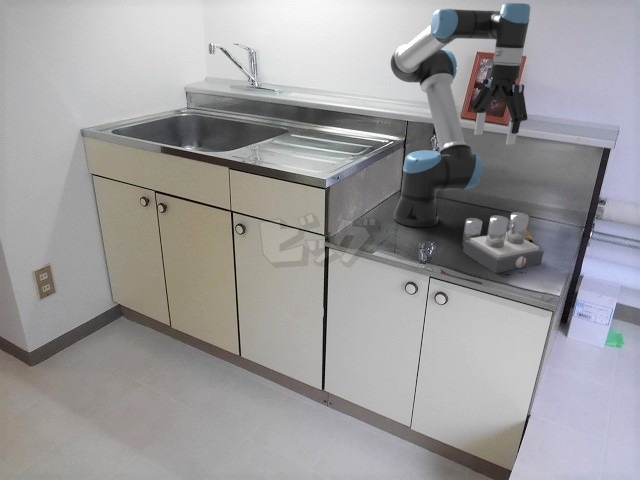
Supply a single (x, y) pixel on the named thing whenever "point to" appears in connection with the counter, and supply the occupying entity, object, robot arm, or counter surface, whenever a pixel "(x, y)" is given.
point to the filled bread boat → (528, 237)
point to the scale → (503, 254)
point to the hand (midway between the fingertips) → (493, 139)
